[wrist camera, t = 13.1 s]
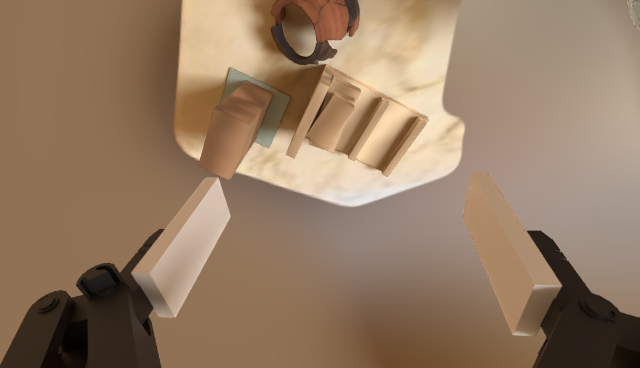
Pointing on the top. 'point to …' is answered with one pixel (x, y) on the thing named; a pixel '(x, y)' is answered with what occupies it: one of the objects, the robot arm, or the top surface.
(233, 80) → the felt mat
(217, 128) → the brown rectangular block
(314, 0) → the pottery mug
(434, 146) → the top surface
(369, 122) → the rack
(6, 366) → the robot arm
